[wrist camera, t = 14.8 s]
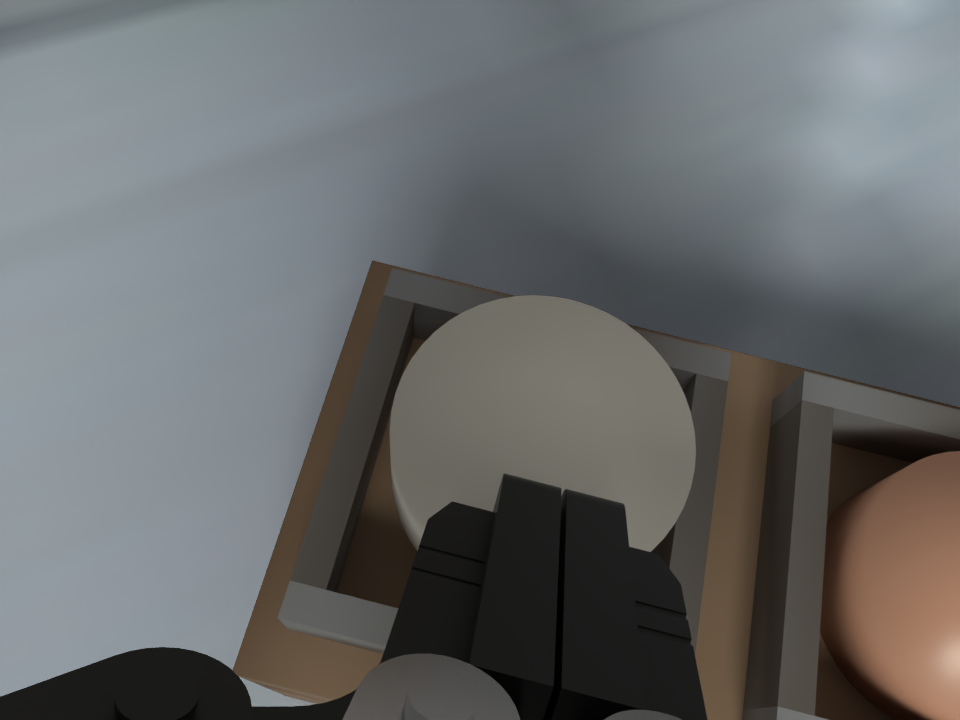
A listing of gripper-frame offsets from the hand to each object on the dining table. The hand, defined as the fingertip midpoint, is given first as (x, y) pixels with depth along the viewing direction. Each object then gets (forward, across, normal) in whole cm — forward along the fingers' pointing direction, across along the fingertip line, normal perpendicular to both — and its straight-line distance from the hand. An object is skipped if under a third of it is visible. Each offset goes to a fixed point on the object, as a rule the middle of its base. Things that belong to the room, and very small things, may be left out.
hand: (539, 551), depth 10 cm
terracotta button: (+5, -8, +2) cm, 10 cm away
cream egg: (+4, 0, +1) cm, 4 cm away
